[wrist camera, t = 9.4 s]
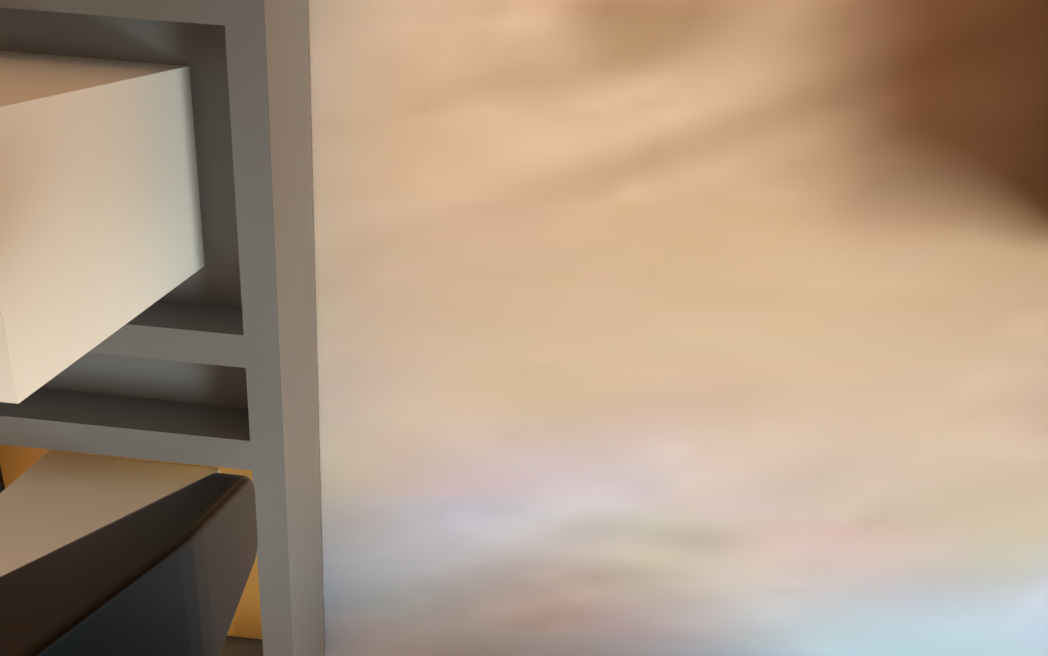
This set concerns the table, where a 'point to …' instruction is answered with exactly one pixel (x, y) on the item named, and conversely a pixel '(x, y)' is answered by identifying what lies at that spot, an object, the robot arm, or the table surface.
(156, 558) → the robot arm
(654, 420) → the table surface
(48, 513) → the plug
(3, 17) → the pdu strip
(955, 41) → the table surface
